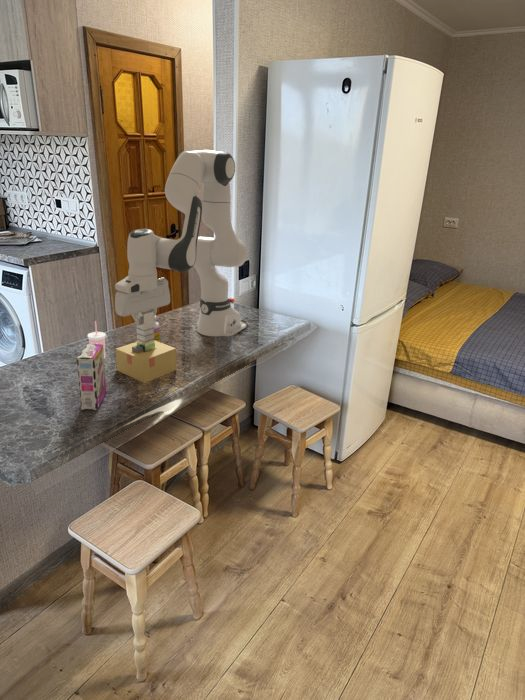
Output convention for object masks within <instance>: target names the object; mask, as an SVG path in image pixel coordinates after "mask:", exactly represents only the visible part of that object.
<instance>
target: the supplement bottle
mask: <svg viewBox="0 0 525 700" xmlns="http://www.w3.org/2000/svg"><path fill="white" fill-rule="evenodd" d="M157 319H158V318H157V315H155V321H154V340H155V341H158V342H160V343H161V341H160V340H161V338H160V337H161V336H160V335H161V334H160V323H159V322H158V321H157Z"/></svg>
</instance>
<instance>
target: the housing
mask: <svg viewBox="0 0 525 700" xmlns="http://www.w3.org/2000/svg"><path fill="white" fill-rule="evenodd" d="M154 343H155V349H154V350H151V351H148V352H143V348H142V347H140V346H137V341H135V342H132V343H129V344H126V345H123V346H120V347H116V348H115V357H116V358H115V359H116V360H115V361H116V370H117V372H120V373H122V374H124V375H126V376H129V377H130V378H132V379H135V380H137V381H139V382H142V383H143V384H145V383H148V382H150V381H153V380H156V379H158V378H161V377H162V376H165V375H167V374H170V373H171V372H174V371H177V348H176V347H173V346H171V345H168V344H165V343H163V342H161V341H160V342H158V341H155V340H154Z"/></svg>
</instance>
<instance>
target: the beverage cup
mask: <svg viewBox="0 0 525 700" xmlns="http://www.w3.org/2000/svg"><path fill="white" fill-rule="evenodd" d="M97 324H98V323H97V320H94V329H95V331H92V332H89V333H88V334H87V339H88V344H102V345H103V349H104V360H105V359H106V337H107V334H106V332H103V331H98V326H97Z"/></svg>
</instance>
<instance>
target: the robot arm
mask: <svg viewBox="0 0 525 700" xmlns="http://www.w3.org/2000/svg"><path fill="white" fill-rule="evenodd" d="M235 172H236V162H235V159H234V158H233V156H232V155H231V153H229V152H226V151H223V150H222V151H217V150H211V149H203V150H201V149H200V150H199V149H198V150H192V149H188V150H184V151H182V152H180V153H179V155H178V156H177V157H176V160H175V162H174V164H173V165H172V167H171V169H170V171H169V174H168V176H167V180H166V183H165V186H164V194H165V197H166V199H167V201H168V203H170V205H171V206H172V207H174V208H175V209H176V210H177V211H179V212H181V213H183V214H184V221H183V226H182V233H181V236H180V237H179V238H178V239H172V238H166V237H161V236H158V235H156V234H155V233H154V231H153V230H152V229H149V228H139V229H134V230H131V231H130V233H129V234H128V237H127V243H126V244H127V247H126V249H127V251H126V252H127V261H128V267H129V268H128V272H127V273H128V275H127V276H126V277H124V278H123V279H121V280H120V281H118V282H116V283H115V285H114V288H115V290H116V293H115V297H114V310H115V311H114V312H115V313H116V314H117V315H118V316H120V317H129V316H131V317H132V318H133V320H134V325H135V326H136V325H137V326H139V325H142V323H141V322H142V320H141V319H139V318H138V316H139V313H140V312H143V311H147V310H150V311H153V315H154V321H155V315H156V314H157V312H158V308H161V307H162V308H163V307H165V306H168V305H170V304H171V293H170V287H169V280H167V279H166V278H165V277H161V278H158V271H157V268H160V269H166V270H171V271H175V272H179V273H181V274H183V273H186V272H188V271H189V270H191V269H192V268H193V267H194V269H195V270H196V272H197V274H198V277H199V281H200V298H199V307H200V309H199V312H198V313H199V314H198V315H199V316H198V321H197V324H196V327H197V329H196V332H197V333H199V334H200V335H203V336H206V337H232V336H234V335H236V334H238V333H239V332H241V331H242V330H244V329H246V328H247V324H246V323H245V322H242V317H241V313H240V312H239V311H237V310H236V309H235V308H234V307H232V305H231V304H234V303H235V302H236V299H235V298H232V297H229V281H228V279H227V278H226V276H224V275H223V274H221V273H220V272H219V271H218V270H217V267H224V268H237V267H241V266H243V265H244V263H246V261H247V257H248V249H247V246H246V245H245V243H244V242H243V241H242V240H241V239H240V238H239V237H238V236H237V235H236V233H235V230H234V228H233V225H232V216H231V214H232V213H231V195H232V194H231V185H230V184H231V183H230V182H231V181H232V180H233V178H234V176H235V174H236V173H235ZM201 186H202V190H201ZM200 190H201V198H200V197H199V192H200ZM201 221H202V223H203V225H205V226H206V228H209V229H210V230H211V231H212V232H213V233H214V236H215V237H214V236H213V237H212V236H203V235H202V236H201V235H200V236H199V233H200V228H201ZM156 316H157V315H156Z"/></svg>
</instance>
